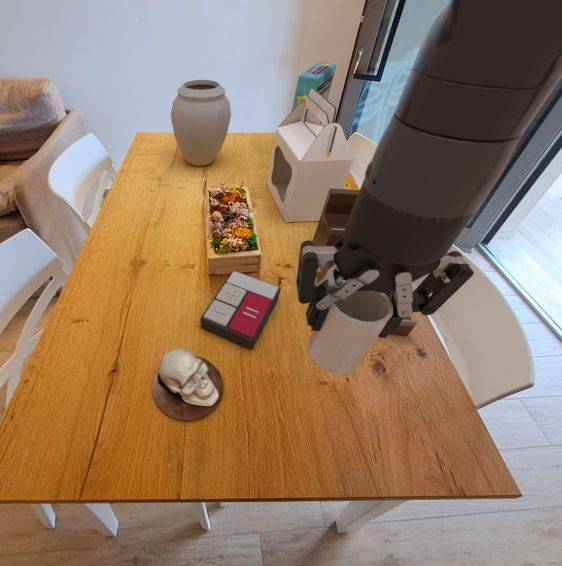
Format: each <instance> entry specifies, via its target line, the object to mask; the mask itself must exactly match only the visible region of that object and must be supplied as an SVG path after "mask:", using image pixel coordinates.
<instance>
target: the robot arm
mask: <svg viewBox="0 0 562 566" xmlns="http://www.w3.org/2000/svg"><path fill="white" fill-rule="evenodd" d="M561 79H562V0H449V1H448V3H447V4H446V6H445V7H444V8H443V10H442V11H441V12H440V14H439V15H438V16H437V17H436V18H435V20H434V22H433V23H432V24H431V26H430V28H429V30H428V32H427V33H426V36H425V37H424V39H423V42H422V43H421V46H420V48H419V50H418V53H417V55H416V57H415V59H414V62H413V65H412V67H411V69H410V72H409V75H408V77H407V80H406V82H405V85H404V88H403V90H402V92H401V94H400V98H399V100H398V102H397V105H396V107H395V110H394V112H393V114H392V116H391V119H390V121H389V123H388V125H387V126H386V128H385V130H384V132H383V133H382V136H381V137H380V139H379V141H378V143H377V145H376V148H375V150H374V152H373V155H372V158H371V160H370V161H369V163H368V164H367V166H366V169H365V172H364V175H365V176H364V178H363V181H362V184H361V186H360V188H359V190H360V191H359V193H358V196H357V199H356V201H355V204H354V206H353V209H352V211H351V214H350V217H349V219H348V222H347V225H346V228H345V232H344V234H343V236H342V237H341V238H340V239H339V240H338V241H337V242H336V243H335V244H334V245H333V246H318V247H315V245H314V242H313V240H311V239H310V240H309V239H307V240H304V241H302V242H301V244H300V248H299V256H298V264H297V265H298V266H297V274H296V282H295V283H296V284H295V285H296V289H297V296H298V297H297V300H298V302H299V303H300V304H303V305H306V304H308V305H307V308H306V310H305V316H306V323H307V326H308V327H310V328H311V329H310V330H311V332H312V331H320V329H321V326H322V324H323V322H324V320H325V317H326V315H327V313H328V307H330V306H331V305H332V304H334V303H335V302H336V301H337V300H339V299H341V300H345V299H346V298H348V297H349V296H350V295H352V294H353V293H354V292H356V291H371V290H373V291H376V292H380V293H390V295H391V303H392V305H393V315H392V317H391V318H390V320H389V322H388V323H387V325H386V326H385V328H384V329H383V331H382V332H381V334H380V335H379V337H378V339H379V338H380V339H386V338H387V337H388V336H389V335H392V333H393V332H395V330H396V329H397V327H398V326H399V325H400V323H401V322H402V320H403V319H404V318H405V317H409V316H410V317H411V316H412V315H413V313H420V314H421V315H423V316H431V315H434V314H436V312H437V311H438V310H440V309H441V307H443V305H444V304H446V302H447V301H448V300H450V298H451V297H453V295H455V293H457V292H458V290H460V289H461V288H462V287H463V286H464V284H466V283H467V282H468V281H469V280H470V279H471V278H472V277H473V276H474V270H473V269H472V268H471V266H470V264H469V263H468V261H467V259H466V258H465V257H464V256H463V254H461V251H458V250H453V251H450V250H451V248H452V247H453V245H454V244H455V242H456V241H457V239H458V238H459V237H460V236H461V234H462V232H463V231H464V229H465V228H466V226H467V225H468V224H469V222H470V221H471V219H472V218H473V216H474V215H475V213H476V212H477V210H478V209H479V208H480V206H481V205H482V203H483V202H484V200H485V199H486V198H487V196H488V195H489V193H490V191H492V188H494V186H495V185H496V183H497V181H498V180H499V179H500V177H501V175H502V174H503V172H504V171H505V169H506V167H507V165H508V163H509V161H510V159H511V157H512V155H513V153H514V151H515V149H516V147H517V145H518V144H519V142H520V140H521V138H522V137H523V135H524V133H525V132H526V130H527V129H528V128H529V126H530V124H531V123H532V122H533V120H534V119H535V117H536V116H537V114H539V113H538V112H539V111H540V110H541V108H542V107H543V106H544V104H545V103H546V101H547V100H548V98H549V97H550V95H551V93H552V92H553V91H554V89H555V88H556V86H557V85H558V83H559V82H560V80H561ZM333 260H334V262H335V265H333V266H332V267H331V268H330V269H329V270H328V271H327V273H326V276H325V277H324V278H323V279H322V280H321V281H320V282H319V283H318V282H317V283H316V284H315V282H316V278H317V275H316V272H318V273H319V272H321V271H322V269H323V268H324V266H325V264H326V263H327V262H329V261H333ZM425 276H426V277H425ZM423 277H424V279H423V280H422V281H421V282H420V284H419V285H418V286H417V287H416V288H415V289H414V290H413V286H412V284H413V283H414V282H416V281H418V280H419V279H422V278H423ZM343 278H344V280H345V282H343Z"/></svg>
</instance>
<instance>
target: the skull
mask: <svg viewBox="0 0 562 566" xmlns="http://www.w3.org/2000/svg"><path fill="white" fill-rule="evenodd" d="M151 387H152V390H151V391H152V397H153V400H154V402H155V404H156V406H157V407H158V408H159V410H160V411H161V412H163V413H164V414H165V415H167V416H169V417H171V418H172V419H176V420H179V421H192V420H193V421H194V420H198V419H201V418H203V417H205V416H207V415H209V414H210V413H211V412H213V411H214V410H215V409H216V407H218V405H219V404H220V402H221V400H222V398H223V397H222V396H223V393H224V380H223V376H222V374H221V373H220V370H219V369H218V368H217V366H216V365H214V364H213V362H211V361H209V360H208V359H206V358H204V357H200V356H197V355H195V354H194V353H192V352H191V351H189V350H187V349H186V348H181V347H179V348H174V349H172V350H170V351H168V352H166V353H164V354H163V356H162V358H161V360H160V362H159V365H158V371H157V372H156V373H155V375H154V378H153V381H152V386H151Z"/></svg>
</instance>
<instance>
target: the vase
mask: <svg viewBox="0 0 562 566" xmlns="http://www.w3.org/2000/svg"><path fill="white" fill-rule="evenodd" d="M176 92H177V96H176V97H174V99H173V100H172V105H171V111H170V119H171V120H170V121H171V125H172V130H173V131H172V132H173V137H174V138H175V141H176V143H177V146H178V149H179V152H180V153H181V154H182V156H183V158H184V159H185V160H186V161H187V163H189V164H190V165H192V166H194V167H205V166H208V165H210V164H212V163H213V162H214V160H215V159H216V158H217V157H218V155H219V153H220V152H221V150H222V148H223V145H224V143H225V141H226V138H227V136H228V135H227V134H228V131H229V126H230V121H231V117H232V113H231V104H230V100H229V99H228V98H227V96H226V89H225V88H224V87H223V86H222V85H221V84H220V83H219V82H218V81H215V80H210V79H194V80H188V81H186V82H184V83H183V84H182V85H180V87H179V88H177V91H176Z"/></svg>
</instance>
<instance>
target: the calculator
mask: <svg viewBox="0 0 562 566" xmlns="http://www.w3.org/2000/svg"><path fill="white" fill-rule="evenodd" d="M281 290H282V288H281V287H280V286H278V285H275V284H272V283H269V282H267V281H264V280H262V279H258V278H256V277H253V276H250V275H248V274H245V273H242V272H239V271H237V270H231V272H230V273H229V275H228V276H227V278H226V280H224V282H223V284H222V285H221V287H220V288H219V290H218V291H217V293H216V294H215V296H214V297H213V299H212V300H211V302H210V303H209V305H208V306H207V307H206V309H205V311H204V312H203V314H202V315H201V317H200V328H201V329H203V330H205V331H207V332H210V333H211V334H214V335H216V336H219V337H221V338H223V339H225V340H228V341H229V342H232V343H234V344H236V345H239V346H240V347H242V348H245V349H248V350H250V351H251V350H253V349H254V347H255V345H256V343H257V342H258V340H259V338H260V335H261V333H262V331H263V330H264V327H265V326H266V324H267V321H268V320H269V317H270V316H271V313H272V312H273V311H274V309H275V307H276V305H277V303H278V301H279V298H280V294H281Z"/></svg>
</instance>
